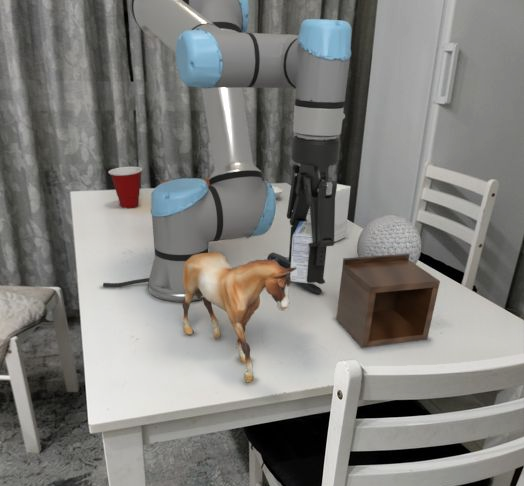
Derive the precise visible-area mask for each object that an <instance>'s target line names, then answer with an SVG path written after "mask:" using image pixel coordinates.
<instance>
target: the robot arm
mask: <svg viewBox="0 0 524 486" xmlns="http://www.w3.org/2000/svg"><path fill="white" fill-rule="evenodd" d="M129 9H130V13H131V16H132V18H133V20H134V22H135V24H136V25H137V27H138V28H139V29H140V30H142V31H143V32H144V33H145V34H146V35H148V36H149V37H151V38H155V39H159V40H160V41H161V42H162V43H163V45H165V46H166V47H167V48H169V50H170V51H171V52H172V53H174V55H175V61H176V62H175V63H176V70H177V72H178V74H179V78H180V80H181V83H183V84H184V85H185V86H186V87H191V88H192V87H193V88H201V93H202V100H203V105H204V106H203V107H204V111H205V112H204V113H205V117H206V126H207V131H208V138H209V145H210V151H211V157H212V164H213V172H212V173H211V175H210V176H209V178H208V179H209V184H210V186H208V185H207V182H206V181H205V180H203V179H204V178H198V177H190V178H189V177H182V178H175V179H170V180H171V181H167V182H164V183H162V184H160V183H159V184H160V185H159V184H158V185H157V186H155V188H153V190H152V192H151V195H150V196H151V197H150V198H151V200H150V206H151V207H150V214H151V221H152V234H153V247H154V249H153V250H154V259H153V262H152V265H151V270H150V274H149V277H147V278H146V277H145V278H139V279H133V280H128V281H122V282H103V283H102V286H103V287H105V288H119V287H127V286H132V285H137V284H144V283H148V291H149V293H150V294H151V295H152V296H154V297H155V298H157V299H160V300H163V301H168V302H175V303H182V300H183V299H184V298H185V294H186V291H185V288H184V285H183V267H184V264H185V262H186V261H187V260H188V259H189V258H190V257H191V256H192V255H195V254H201V253H209V243H210V242H218V241H226V240H234V239H235V240H236V239H245V238H246V239H250V238H252V237H257V236H258V237H259V236H263V235H264V234H267V232H268V231H269V230H270V229H271V227H272V225H273V222H274V221H275V216H276V208H277V200H276V199H277V198H276V197H275V192H274V189H273V188H272V186H273V185H272V184H271V183H270V182H269V181H266V180H263V174H262V170H261V169H259V168H258V167H257V166H255V164H254V161H253V154H252V146H251V141H250V133H249V126H248V120H247V112H246V107H245V106H246V105H245V99H244V93H243V91H244V90H243V88H253V89H254V88H256V89H257V88H259V89H293V90H295V100H294V105H293V106H294V107H293V120H292V122H293V123H292V131H293V133H294V134H296V135H294V136H293V138H292V143H291V160H292V161H293V162H294V163H296V164H292V167H291V169H292V171H291V182H290V192H289V197H288V203H287V204H288V205H287V212H286V218H287V219H288V220H289V225H290V235H289V236H290V237H289V250H288V251H289V252H288V257H289V262H291V252H292V238H293V234H294V232H295V230H296V228H297V227H298V225H299V222H300V221H307V219H306V217H307V214H308V210H309V207H310V215H311V227H312V240H313V243H309V247H310V250H309V261H308V272H307V282H308V283H311V282H315V283H317V282H323V279H324V276H325V267H326V257H327V249H328V247H333V246H334V245H335V242H334V227H335V195H336V189H337V184H338V182H337V181H331V180H330V175H329V168H330V167H331V166H334V165H336V164H337V163H338V162H339V160H340V159H339V158H340V149H341V140H340V138H339V137H338V136H340V135H341V134H342V128H343V121H344V119H345V118H346V114H345V113H344V110H345V109H344V108H345V102H346V94H347V86H348V77H349V69H350V61H351V57H352V50H351V47H352V44H351V43H352V26H351V24H350V23H349V22H348V21H347V20H338V19H323V18H321V19H317V18H309V19H308V18H306V19H304V20H303V21H302V22H301V23H300V27H299V33H298V34H289V33H263V32H262V33H261V32H260V33H257V32H247V31H248V27H249V23H250V22H249V21H250V19H249V15H250V6H249V0H129ZM199 291H200V289H199ZM200 292H201V291H200ZM201 297H202V298H203V297H204V296H203V294H202V296H201ZM200 300H202V299H199V298H198V297H196V296H195V295H194V296H193V298H192V301H191V302H196V301H200Z"/></svg>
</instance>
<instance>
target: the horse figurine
mask: <svg viewBox="0 0 524 486" xmlns="http://www.w3.org/2000/svg"><path fill="white" fill-rule="evenodd" d="M295 269H296V268H283V267H282V266H280V265H279V264H278V263H277V261H272V260H267V259H255V260H250V261H248V262H246V263H243V264H240V265H238V266H235V267H232V266H231V265H230V264H229V263H228V259H227V257H226V256H225V255H223V254H222V253H218V252H208V253H201V254H195V255H192V256H191V257H190V258H189V259H188V260H187V261H186V262H185V264H184V267H183V285H184V288H185V291H186V294H185V298H184V299H183V300H182V302H181V303H182V304H181V305H182V309H183V317H182V323H183V325H184V326H183V330H184V333H185V335H189V336H190V335H193V334H194V330H193V328H192V326H191V324H190V323H189V322H190V321H189V309H190V306H191V303H192V302H193V301H192V298H193V296H194V295H195V296H196V297H198V298H199V299H201V300H202V302H203V305H204V307H205V308H206V310H207V313H208V314H209V317H210V321H211V324H212V326H214V327H213V330H212V335H213V336H214V338H216V339H219V338H220V337H221V334H222V333H221V329H220V324H219V320H218V318H217V316H216V314H215V312H214V309H213V305H214V306H216V307H218V308H220V309H222V311H224V312H225V313H226V316H227V319H228V320H229V322H230V324H231V325H232V327H233V330H234V333H235V335H236V338H237V341H236V346H235V348H236V349H237V351H238V353H239V354H238V357H239V361H240V362H241V363H243V364H245V369H246V371H244V375H243V378H244V380H245V382H246V383H252V382H253V380H254V376H253V375H254V373H253V365H254V364H253V363H252V358H251V346H250V345H249V343H248V341H247V337H246V334H245V333H246V326H247V324H248V322H249V321H250V320H251V318H252V316H253V315H254V313H255V312H256V311H257V310H258V309H259V307H260V304H261V294H262V293H263V291H264V289H265V290H266V293H268V294H269V295H270V296H271V297H272V299H273V300H274V302H276V308H277V309H278V310H279V311H283V312H284V311H285V310H286V309H289V308H290V307H289V306H290V296H289V294H290V285H291V284H292V281H291V277H290V275H289V273H291V272H292V271H294V270H295ZM199 289H200V291H201V292H200V291H199ZM202 294H203V296H204V297H203V298H202V297H201V296H202Z"/></svg>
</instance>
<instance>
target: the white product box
mask: <svg viewBox="0 0 524 486" xmlns="http://www.w3.org/2000/svg"><path fill="white" fill-rule="evenodd" d="M351 187H352V186H351V185H345V184H340V183H337V189H336V195H335V227H334V243H336V242H338V241H340V240H342V239H345V238H346V236H347V235H346V234H347V226H348V225H347V224H348V215H349V205H350V198H351V197H350V196H351ZM306 219H307V221H308V222H311V215H310V207H309V210H308V214H307V217H306Z"/></svg>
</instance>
